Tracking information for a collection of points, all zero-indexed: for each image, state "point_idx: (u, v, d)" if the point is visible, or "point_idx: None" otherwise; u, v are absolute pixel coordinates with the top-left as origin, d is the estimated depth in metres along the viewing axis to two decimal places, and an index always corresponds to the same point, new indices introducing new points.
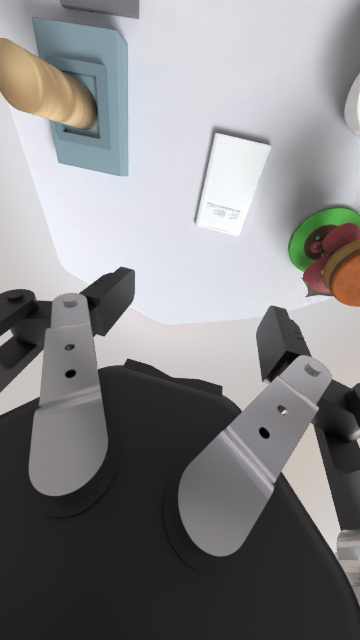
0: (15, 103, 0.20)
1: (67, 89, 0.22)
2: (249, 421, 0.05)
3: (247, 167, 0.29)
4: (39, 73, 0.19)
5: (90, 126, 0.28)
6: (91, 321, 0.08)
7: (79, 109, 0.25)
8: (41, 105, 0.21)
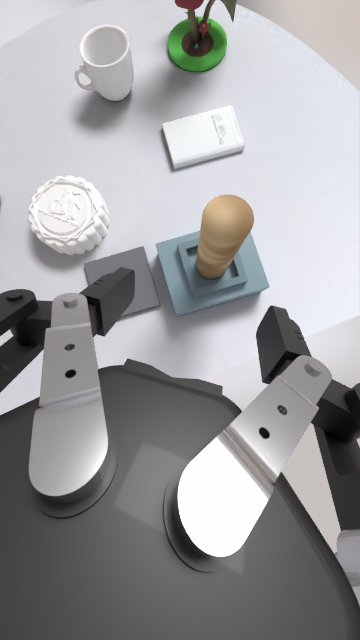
0: (249, 218, 0.17)
1: None
2: (249, 421, 0.05)
3: (181, 129, 0.33)
4: None
5: None
6: (91, 321, 0.08)
7: None
8: None
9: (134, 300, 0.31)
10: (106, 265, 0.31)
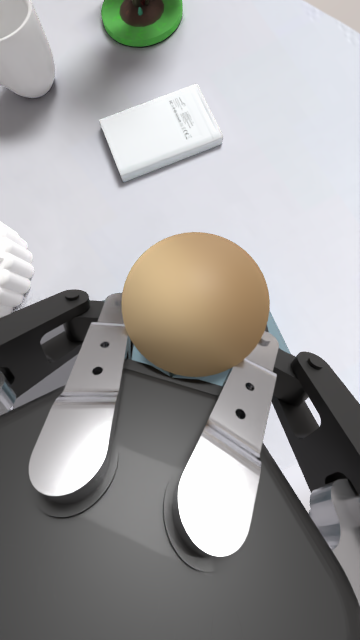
0: (256, 294, 0.06)
1: None
2: (249, 421, 0.05)
3: (127, 124, 0.22)
4: None
5: None
6: None
7: None
8: None
9: None
10: None
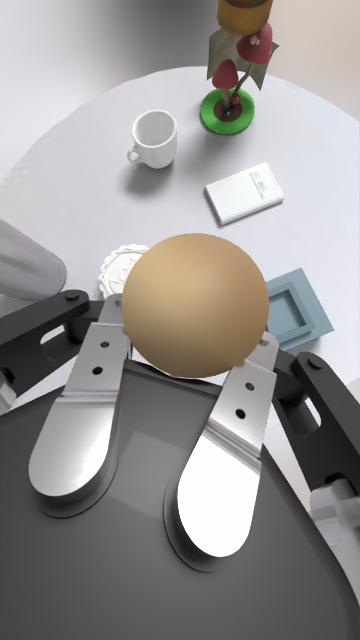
0: (256, 296, 0.06)
1: None
2: (249, 421, 0.05)
3: (223, 189, 0.36)
4: None
5: None
6: None
7: None
8: None
9: None
10: None
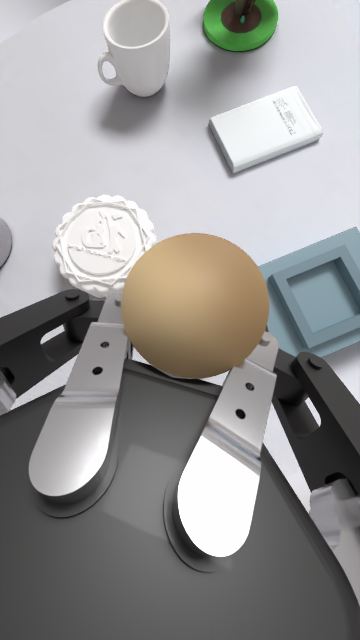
0: (256, 296, 0.06)
1: None
2: (249, 421, 0.05)
3: (236, 122, 0.25)
4: None
5: None
6: None
7: None
8: None
9: None
10: None
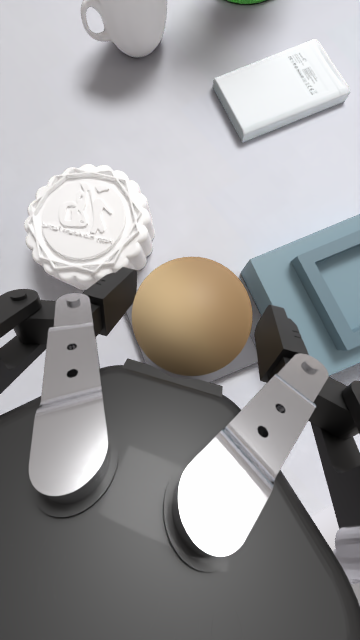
0: (242, 309, 0.07)
1: None
2: (249, 421, 0.05)
3: (246, 81, 0.21)
4: None
5: None
6: (94, 321, 0.08)
7: None
8: None
9: None
10: None
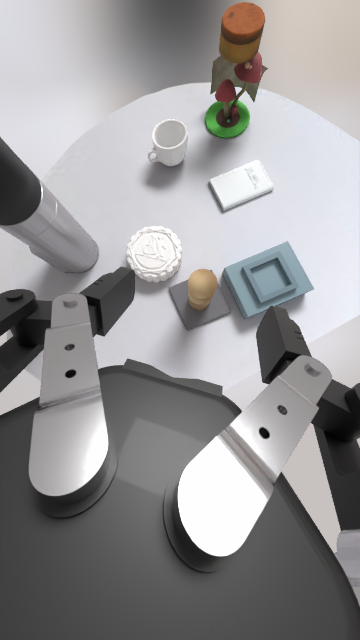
0: (214, 281, 0.30)
1: None
2: (249, 421, 0.05)
3: (224, 182, 0.44)
4: None
5: None
6: (91, 321, 0.08)
7: None
8: None
9: (211, 310, 0.41)
10: (185, 287, 0.42)
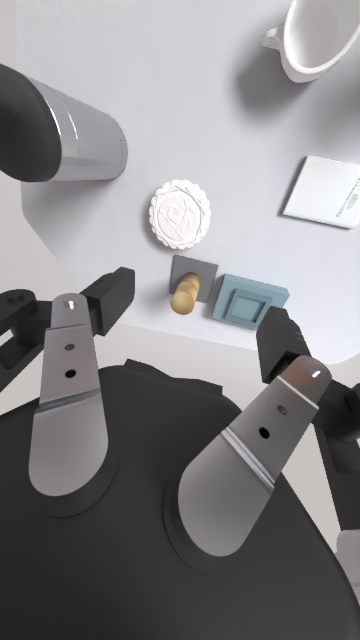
0: (190, 309, 0.38)
1: (185, 283, 0.40)
2: (249, 421, 0.05)
3: (318, 177, 0.31)
4: (181, 292, 0.37)
5: (199, 278, 0.45)
6: (91, 321, 0.08)
7: (193, 280, 0.42)
8: (191, 297, 0.37)
9: None
10: (188, 265, 0.44)
